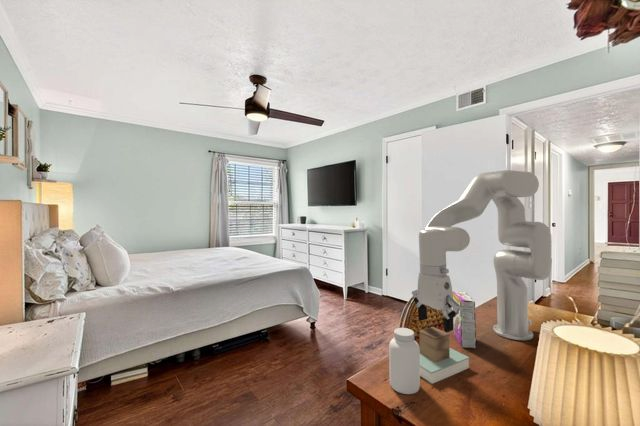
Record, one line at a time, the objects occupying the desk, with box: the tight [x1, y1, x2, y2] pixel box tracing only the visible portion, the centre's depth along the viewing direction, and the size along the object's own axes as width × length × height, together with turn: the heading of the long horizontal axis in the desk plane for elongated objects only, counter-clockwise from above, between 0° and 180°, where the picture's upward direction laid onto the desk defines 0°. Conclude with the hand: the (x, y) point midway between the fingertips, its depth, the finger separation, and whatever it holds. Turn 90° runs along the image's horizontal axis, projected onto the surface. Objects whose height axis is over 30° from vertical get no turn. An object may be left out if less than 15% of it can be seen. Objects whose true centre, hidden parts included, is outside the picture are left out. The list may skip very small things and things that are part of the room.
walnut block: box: [418, 326, 450, 362], centre depth 87 cm, size 6×6×7 cm
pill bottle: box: [388, 327, 421, 395], centre depth 78 cm, size 8×8×15 cm
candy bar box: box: [452, 291, 477, 349], centre depth 102 cm, size 11×5×16 cm, turn 168°
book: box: [419, 346, 470, 385], centre depth 87 cm, size 12×16×4 cm
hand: (435, 325), depth 87 cm, fingers open, 9 cm apart
